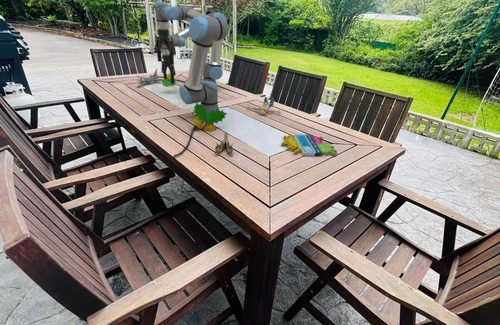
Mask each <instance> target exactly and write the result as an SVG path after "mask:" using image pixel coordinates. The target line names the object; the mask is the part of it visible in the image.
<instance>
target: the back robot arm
mask: <svg viewBox="0 0 500 325" xmlns="http://www.w3.org/2000/svg"><path fill="white" fill-rule="evenodd" d="M206 15H207V16H210V17H218V18H221V19H223V20H225V21H226V23H227V24H228V21H227V17H226V15H225V14H223V13H222V12H215V11H213V12H210V13H208V14H206ZM189 33H190V32H189V26H187V27H185V28H183V29H181V30H179V31H178V32H176V33H174V34H169V36H168V38H171V39H172V43H173V46H174V48H185V46H186V40H187V39H189V38H191V37H190V35H189ZM221 51H222V40H219V41H213V44H212V47H211V48H210V61H209V62H207V61H206V64H205V68H204V73H203V77H202V81H211V82H214V83H216V84H217V81H218V80H220V79H221V78H222V77H223V73H224V72H223V69H222V62H221V53H222V52H221ZM169 54H170V52H169V51H168V49H167V47H166V45H164V44H163V45H162V48H161V57H162V61H160V64H161V73H162V75H163V77H161V79H168V78H167V75H168V74H167V71H169V73H171V84H174V79H175V76H177V74H176V69H175V63H174V64H170V56H169ZM185 81H186V80H180V79H176V82H182V83H185ZM217 85H218V84H217Z"/></svg>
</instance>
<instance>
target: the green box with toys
mask: <svg viewBox="0 0 500 325" xmlns="http://www.w3.org/2000/svg"><path fill="white" fill-rule="evenodd" d="M162 79H163V80H160V82H161V83H162V86H163V87H166V88H169V87H175V86H176V83H177V78H174V84H171V73H170V72H169V73H168V74H167V79H164V78H162Z"/></svg>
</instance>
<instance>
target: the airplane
mask: <svg viewBox="0 0 500 325" xmlns="http://www.w3.org/2000/svg"><path fill="white" fill-rule="evenodd" d="M148 76H149V77H147V76H135V78H138V79H139V83H138V84H137V86H136V87H135V88H141V87H143V86H146V85H152V84H154V83H155V82H157V83H160V82H161V80H163V79H164V78H162V77H164V75H163V76H161V75H158V68H156V69H155V71H154V72H153V74H152V75H151V74H149V75H148Z"/></svg>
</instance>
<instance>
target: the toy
mask: <svg viewBox="0 0 500 325" xmlns="http://www.w3.org/2000/svg"><path fill="white" fill-rule="evenodd" d="M274 100H275V98H274V97H271V98H270V101H268V97H267V96H266V95H265V96H264V99H263V104H261V105H260V107H251V106H250V105H248V106H246V110H254V111H258V112H257V113H258V114H259V115H261V116H265V115H267V112H270V113H276V114H279V115H282V113H283V111H281V109H278V110H274V109H270V107H271V106H273V105H274V102H275V101H274Z"/></svg>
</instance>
